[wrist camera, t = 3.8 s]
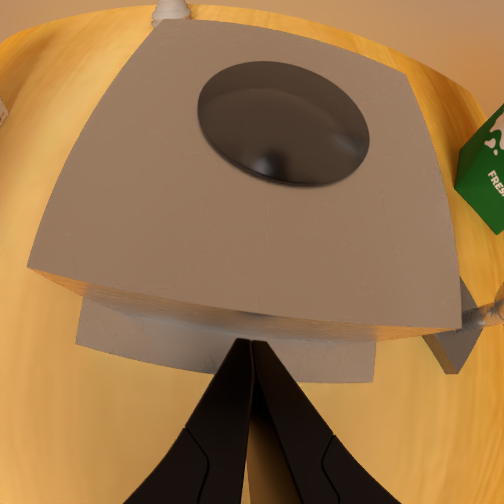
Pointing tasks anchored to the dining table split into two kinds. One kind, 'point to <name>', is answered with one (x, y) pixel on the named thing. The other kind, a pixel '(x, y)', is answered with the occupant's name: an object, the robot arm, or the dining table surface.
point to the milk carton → (484, 171)
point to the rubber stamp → (465, 330)
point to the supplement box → (3, 112)
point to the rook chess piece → (170, 11)
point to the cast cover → (253, 207)
